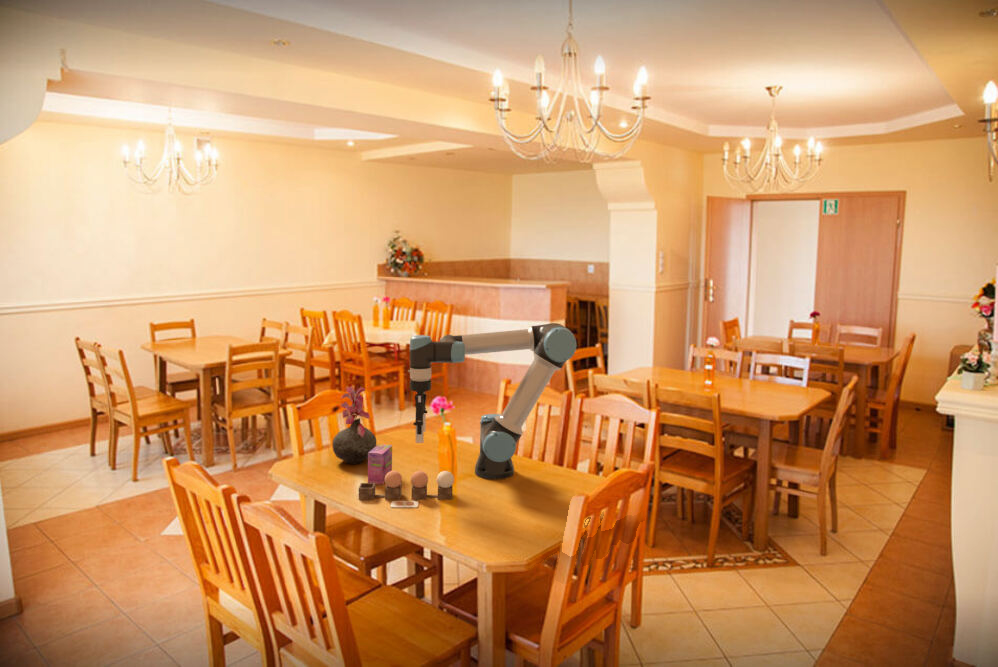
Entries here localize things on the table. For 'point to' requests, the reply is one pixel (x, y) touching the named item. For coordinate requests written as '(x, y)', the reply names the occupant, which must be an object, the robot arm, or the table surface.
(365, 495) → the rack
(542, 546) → the table surface
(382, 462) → the box
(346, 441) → the vase
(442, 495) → the rack
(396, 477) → the terracotta ball
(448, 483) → the ball cream
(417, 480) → the terracotta ball
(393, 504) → the card
